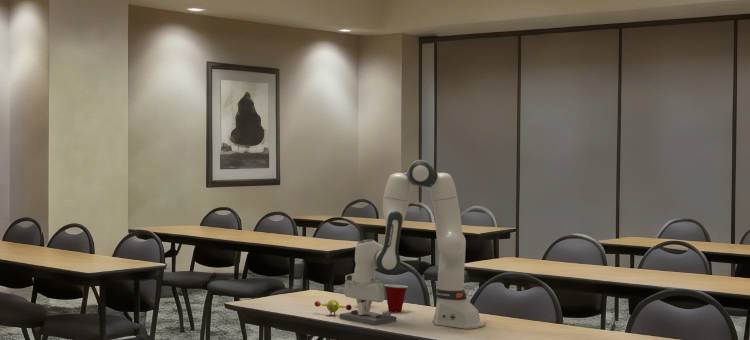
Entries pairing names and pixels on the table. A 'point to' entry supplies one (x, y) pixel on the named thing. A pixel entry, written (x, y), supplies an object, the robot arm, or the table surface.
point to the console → (369, 317)
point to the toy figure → (332, 306)
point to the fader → (362, 308)
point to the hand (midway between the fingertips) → (363, 310)
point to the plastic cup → (395, 297)
